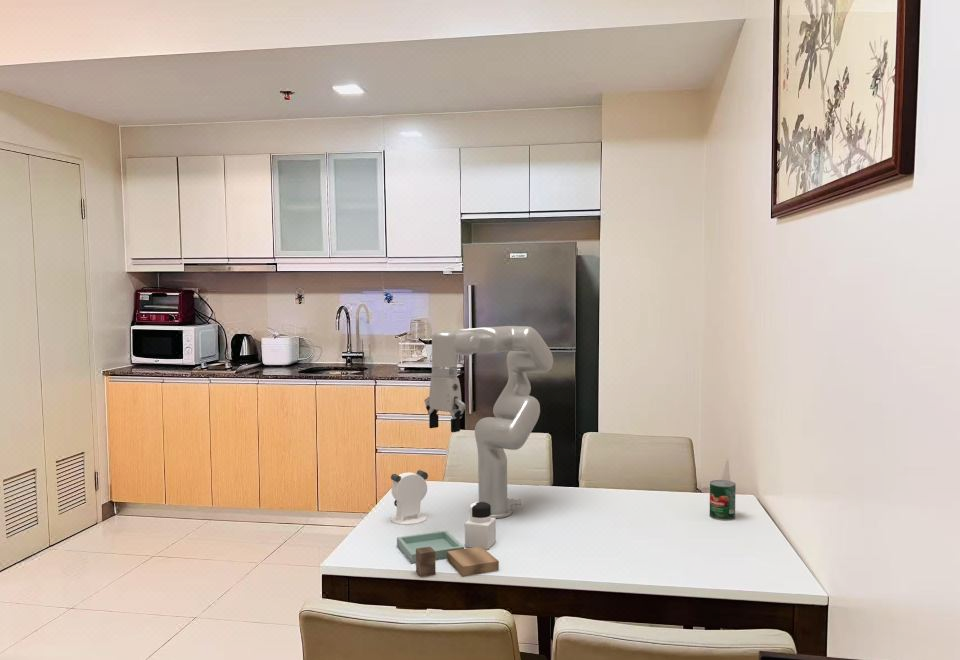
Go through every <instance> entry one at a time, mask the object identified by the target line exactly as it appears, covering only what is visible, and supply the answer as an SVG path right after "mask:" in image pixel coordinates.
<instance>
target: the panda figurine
mask: <svg viewBox="0 0 960 660" xmlns="http://www.w3.org/2000/svg"><path fill="white" fill-rule="evenodd" d="M428 477H429V475H428V472H426V471H424V470H422V469H418V470H417V471H416V473H415V472H409V471H408V472H403V473H400V474H399V475H398V474H397V473H392V474H391V476H390V479H391V480H392V484H391V495H392V497H393V498H394V499H395V500H394V502H393V503H394V506H395V507H396V514H395V515H393V516H392V517H391V518H390V521H391V522H392V523H393V524H396V525H402V526H412V525H418V524H423V523H424V522H425V521H427V515H425V514H423V513H421V504H422V503H421V502H422V501H423V499H424V498H425V496H426V495H427V492H428V484H427V482H426V480H428Z"/></svg>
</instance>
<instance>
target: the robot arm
mask: <svg viewBox="0 0 960 660" xmlns="http://www.w3.org/2000/svg"><path fill="white" fill-rule="evenodd" d="M504 352H508V353H507V355H506V366H507V372H508V373H507V374H508V375H507V376H508V377H507V383H506V385H505V386H504V388H503V390H502V391H501V393H500V395H499V396H498V398H497V399H496V401H495V403H494V405H493V408H492V409H493V410H492V413H493V416H494V417H493V416H492V417H491V416H487V417H483V418H481V419H479V420H478V421H477V423H476V425H475V427H474V436H475V437H474V438H475V442H476V447H477V458H478V461H477V462H478V464H477V465H478V468H477V471H478V473H477V474H478V475H477V477H478V478H477V479H478V480H477V481H478V502H486V503H488V504H490V505H491V518H495V519H502V518H506V517H509V516H510V515H512V513H513V509H512V508H513V507H514V506H515V507H516V506H521V505H522V501H521V499H520V498H519V499H515V498H508V458H507V455H506V452H505V450H511V451H515V450H516V451H517V450H519V449H521V448H523V446H524V445H525V443H526V442H527V440H528V439H529V437H530V435H531V433H532V431H533V430H534V428H535V426H536V424H537V423H538V420H539V417H540V414H541V406H540V405H541V404H540V402H539V400H538V399H537V398H536V397H534V396H532V395H530V394H531V389H532V386H531V382H530V380H529V379H528V376H527V373H533V374H534V373H535V374H545V373H548V372H549V371H550V370H551V369H552V367H553V365H554V357H553V356H554V355H553V354H552V351H551V349H550V348H549V347H548V345H547V343H546V342H545V340H544V339H543V337H542V336H541V335H540V333H539V332H538V331H537V330H536V329H535V328H534V327H532V326H526V325H523V326H522V325H520V326H519V325H504V326H503V325H501V326H486V327H485V326H484V327H475V328H473V327H472V328H461V329H460V328H459V329H458V328H457V329H445V330H442V331H441V330H440V331H436V332H434V333H433V334H432V337H431V377H430V383H429V384H430V385H429V393H428V394H429V396H427V397H426V398H424V399H423V400H424V404H425V408H426V411H427V415H428V417H429V419H428V420H429V423H428V424H429V425H428V427H429V428H430V429H435V428H436V429H437V428H438V427H439V414H438V413H439V412H445V413H446V412H447V413H449V414H450V416H451V419H450V432H451V433H459V432H460V431H461V419H462V417H463V415H464V413H465V409H466V403H464V402H463V401H462V391H461V383H460V378H459V377H458V373H459V372H458V355H459V356H472V355H473V354H495V353H504Z"/></svg>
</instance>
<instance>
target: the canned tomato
mask: <svg viewBox="0 0 960 660" xmlns="http://www.w3.org/2000/svg"><path fill="white" fill-rule="evenodd" d="M736 485H737V484H736V482H733V481H731V480H725V479H713V480H710V481H709V515H708V516H709V517H710V518H711V519H714V520H716V521H732V520H736V519H735V518H736V491H737V490H736Z"/></svg>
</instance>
